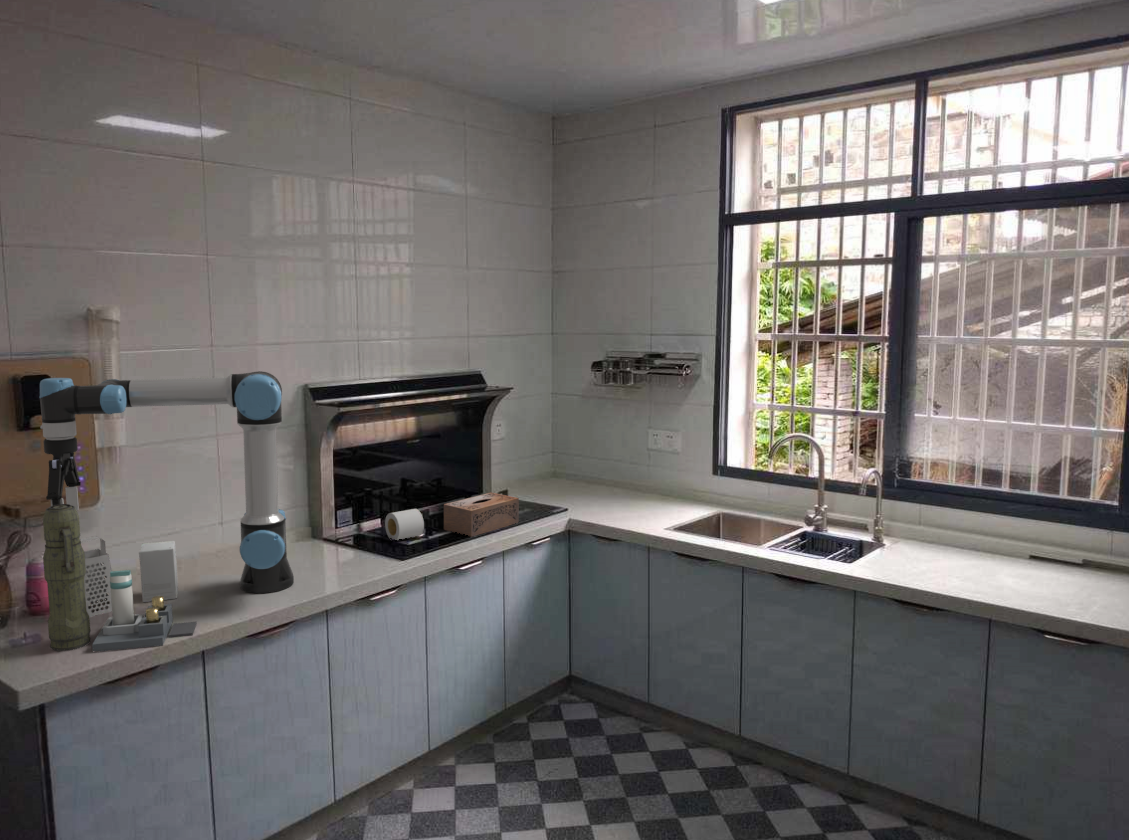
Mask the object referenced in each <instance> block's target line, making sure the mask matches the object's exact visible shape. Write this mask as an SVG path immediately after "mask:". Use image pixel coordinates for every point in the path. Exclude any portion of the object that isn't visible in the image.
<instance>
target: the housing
mask: <svg viewBox="0 0 1129 840" xmlns="http://www.w3.org/2000/svg"><path fill="white" fill-rule="evenodd" d="M172 605H173V603H168V604H167V603H166V604H165V603H164V611H158V614H159V623H149V624H147V622H146V611H145V612H144V613H143V614H140V613H134V624H128V625H117V626H113V616H110V617H108V618H107V619H106V621H105V622H104V624H103V626H102V628H101V630H100V631H99V632H98V634H97V636H96V637H95V639H94V640H93V642H92V645H91V646H92V652H93V651H100V652H109V651H108V650H111V651H119V650H118V649H121V650H128V649H127V648H131V649H140V648H151V647H152V648H153V647H160V646H161V647H162V646H164V644H165V642H166V640H165V639H167V637H168V636H169V633H170V631H171V628H172V626H173V623H174V617H173V606H172ZM151 607H152V605H148V606H147V608H146V609H148V608H151ZM172 622H173V623H172ZM139 647H140V648H139Z"/></svg>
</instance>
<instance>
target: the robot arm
mask: <svg viewBox="0 0 1129 840" xmlns="http://www.w3.org/2000/svg"><path fill="white" fill-rule="evenodd" d="M282 395H283V387H282V384H281V382H280V380H279V379H278V378H277V377H276V376H274V374H272V373H270V372H268V371H267V372H266V371H263V370H262V371H261V370H260V371H259V370H258V371H252V372H247V373H231V374H229V375H228V376H227V377H212V378H211V377H210V378H209V377H207V378H202V377H200V378H167V379H166V378H165V379H164V378H161V379H157V378H156V379H131V380H129V379H123V380H120V379H116V378H114V379H113V378H111V379H106V380H103V381H102V382H101V383H99V384H98V383H97V384H95V385H74V382H73V379H72V378H70V377H51V378H50V377H48V378H44V379H42V380H40V382H39V397H38V398H39V402H40V412H41V422H42V424H41V425H40V428H39V429H40V430H42V437H43V438H44V439H43V441H42V442H43V450H44V451H43V452H44V454H47V455H52V459H49V460H48V481H47V495H46V497H45V498H46V500H47V501H49V500H50V506H54V505H59V504H70V505H72V506H75V509H76V511H77V512H78V511H80V508H79V507H80V506H79V505H80V504H79V493H78V491H79V489H78V487H80V486H81V485H82V483H81V481H80V477H79V473H78V468H77V465H76V459H75V453H76V452H78V451H79V450H78V449H79V448H78V438H77V437H75V436H77V433H78V432H77V422H76V415H113V414H122V413H124V412H125V411H126V408H135V407H136V408H138V407H140V408H142V407H167V406H169V407H171V406H172V407H173V406H174V407H175V406H176V407H177V406H205V405H206V406H208V405H211V406H212V405H229V406H230V407H232V408H236V423H237V425H238V426H239V427H241V428H242V431H243V455H244V456H243V457H244V458H243V460H244V490H245V491H244V492H245V494H244V495H245V513H244V514H243V516H242V518H240V545H239V554H240V556H241V559H242V561H243V562H244V566H243V569H242V573H241V577H240V583H239V585H240V589H241V591H244V592H248V593H254V594H255V593H256V594H265V593H273V592H274V593H275V592H279V591H282V590H286V589H288V588H290V587H291V586H293V585H294V582H295V579H294V572H293V570H292V568H291V565H290V562H289V560H288V557H287V556H288V553H287V529H286V528H287V525H286V524H287V523H286V520H287V517H286V512H285V511H284V510H283V509H279V489H278V488H279V485H278V484H279V483H278V482H279V481H278V447H277V445H278V444H277V443H278V442H277V428H278V427H279V426H280V425H281V424H282V422H283V421H282V418H283V417H282V414H283V413H282ZM64 483H65V485H66V486H65V488H64ZM63 489H65V490H64V491H65V501H66V503H64V497H63Z"/></svg>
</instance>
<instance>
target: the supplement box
mask: <svg viewBox="0 0 1129 840" xmlns="http://www.w3.org/2000/svg"><path fill="white" fill-rule="evenodd" d="M176 553H177V551H176V541H175V540H169V541H160V542H159V541H158V542H157V541H156V542H147V543H142V544H141V546H140V549H139V552H138V555H139V558H138V559H139V570H140V583H141V594H142V595H141V596H142V597H141V598H142V603H152V597H155V596H164V601H167V600H168V601H169V600H175V599H177V597H178V593H179V579H178V565H177V564H178V563H177V554H176Z"/></svg>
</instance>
